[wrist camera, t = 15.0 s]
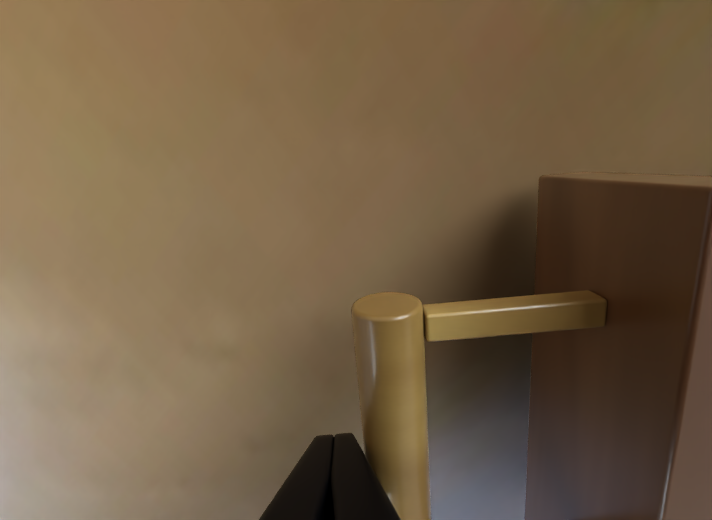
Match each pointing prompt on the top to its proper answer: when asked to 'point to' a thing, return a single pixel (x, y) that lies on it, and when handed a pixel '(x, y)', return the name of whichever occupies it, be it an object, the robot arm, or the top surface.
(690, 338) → the drawer
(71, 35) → the top surface
